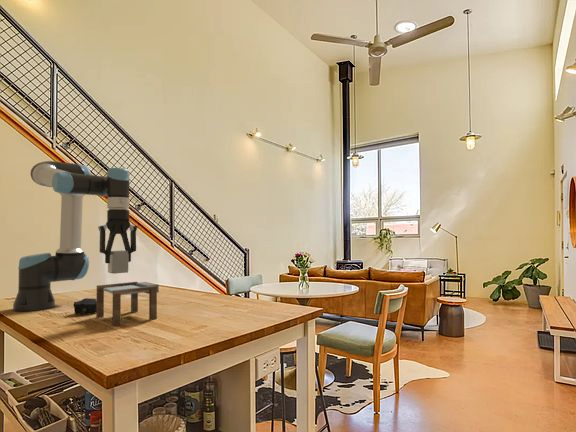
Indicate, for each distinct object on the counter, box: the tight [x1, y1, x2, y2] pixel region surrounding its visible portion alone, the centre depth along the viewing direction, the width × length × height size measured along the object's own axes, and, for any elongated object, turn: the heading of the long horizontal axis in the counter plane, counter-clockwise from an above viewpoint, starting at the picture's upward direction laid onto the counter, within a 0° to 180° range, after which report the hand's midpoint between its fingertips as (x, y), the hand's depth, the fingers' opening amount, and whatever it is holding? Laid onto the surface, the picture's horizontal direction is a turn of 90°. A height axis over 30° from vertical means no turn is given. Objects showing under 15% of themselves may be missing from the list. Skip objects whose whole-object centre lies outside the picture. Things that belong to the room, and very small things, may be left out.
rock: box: [73, 297, 97, 315], centre depth 152 cm, size 10×9×6 cm
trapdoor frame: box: [95, 281, 158, 327], centre depth 141 cm, size 20×15×12 cm
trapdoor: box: [104, 281, 160, 296], centre depth 143 cm, size 15×16×3 cm
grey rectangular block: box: [107, 250, 129, 275], centre depth 140 cm, size 6×5×8 cm
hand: (118, 271), depth 140 cm, fingers closed on grey rectangular block, 5 cm apart
